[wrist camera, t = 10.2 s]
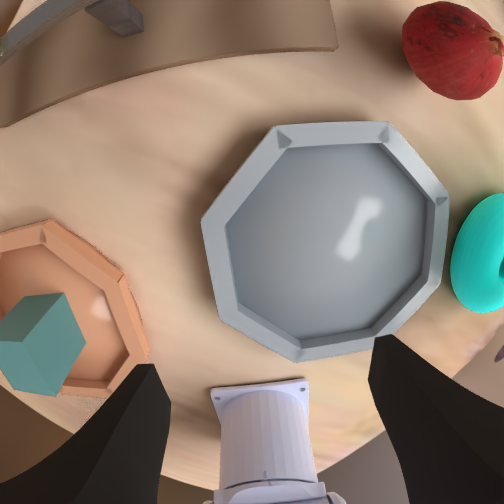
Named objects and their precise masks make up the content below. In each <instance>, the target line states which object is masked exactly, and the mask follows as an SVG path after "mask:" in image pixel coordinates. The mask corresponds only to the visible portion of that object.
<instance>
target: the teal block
mask: <svg viewBox="0 0 504 504" xmlns="http://www.w3.org/2000/svg"><path fill="white" fill-rule="evenodd" d="M86 343H87V342H86V340H85V338H84V336H83V334H82V332H81V330H80V328H79V325H78V323H77V321H76V319H75V316H74V314H73V312H72V310H71V307H70V305H69V302H68V300H67V298H66V295H65V293H53V294H43V295H32V296H24V297H23V298H22V299H21V300H20V301H19V302H18V303H17V304H16V305H15V306H14V307H13V308H12V309H11V310H10V311H9V312H8V313H7V314H6V315H5V316H4V317H3V319H2V320H1V321H0V369H1V371H2V372H3V374H4V375H5V377H6V378H7V380H8V381H9V383H10V384H11V386H12V387H13V389H14V390H19V391H24V392H29V393H35V394H41V395H48V396H55V397H56V395H57V393H58V392H59V390H60V388H61V386H62V384H63V382H64V381H65V379H66V377H67V375H68V373H69V372H70V370H71V368H72V366H73V365H74V363H75V361H76V360H77V358H78V356H79V354H80V353H81V351H82V349H83V348H84V346H85V344H86Z"/></svg>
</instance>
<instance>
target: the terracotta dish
mask: <svg viewBox="0 0 504 504" xmlns="http://www.w3.org/2000/svg"><path fill="white" fill-rule="evenodd" d="M53 293H65V295H66V298H67V300H68V302H69V305H70V307H71V310H72V312H73V314H74V316H75V319H76V321H77V323H78V325H79V328H80V330H81V332H82V334H83V336H84V338H85V340H86V342H87V343H86V344H85V346H84V348H83V349H82V351H81V353H80V354H79V356H78V358H77V360H76V361H75V363H74V365H73V366H72V368H71V370H70V372H69V373H68V375H67V377H66V379H65V381H64V382H63V384H62V386H61V388H60V390H59V393H61V394H67V395H76V396H86V397H97V398H109V397H110V396H111V394H112V393H113V392H114V391H115V390H116V388H117V387H118V386H119V385H120V384H121V382H122V381H123V380H124V379H125V378H126V376H127V375H128V374H129V373H130V372H131V370H132V369H133V368H134V367H135V366H136V365H137V364H144V363H145V362H146V361H147V358H148V356H149V353H150V346H149V343H148V341H147V338H146V336H145V333H144V330H143V325H142V319H141V316H140V312H139V309H138V307H137V304H136V302H135V299H134V297H133V295H132V293H131V291H130V290H129V287H128V284H127V280H126V277H125V274H123V272H122V271H120V270H119V269H117V268H116V267H115V266H113V265H112V264H111V263H110V262H109V261H108V260H107V259H106V258H105V257H104V256H103V255H102V254H101V253H100V252H99V251H98V250H97V249H95V248H94V247H93V246H92V245H91V244H89V243H88V242H86V241H85V240H83V239H82V238H80V237H79V236H77V235H75V234H73V233H71V232H69V231H67V230H65V229H64V228H62V227H61V226H60V225H59V224H57V223H56V222H55V221H54V220H51V219H50V220H46V221H42V222H38V223H34V224H30V225H27V226H23V227H19V228H16V229H12V230H8V231H5V232H1V233H0V321H1V320H2V319H3V317H4V316H5V315H6V314H7V313H8V312H9V311H10V310H11V309H12V308H13V307H14V306H15V305H16V304H17V303H18V302H19V301H20V300H21V299H22V298H23V297H24V296H32V295H43V294H53Z"/></svg>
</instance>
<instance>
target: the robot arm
mask: <svg viewBox="0 0 504 504" xmlns="http://www.w3.org/2000/svg"><path fill="white" fill-rule="evenodd" d="M368 382H369V386H370V389H371V393H372V396H373V399H374V402H375V405H376V408H377V410H378V412H379V415H380V417H381V419H382V422H383V424H384V426H385V428H386V431H387V433H388V435H389V437H390V440H391V442H392V445H393V447H394V449H395V452H396V454H397V457H398V460H399V462H400V465H401V469H402V472H403V476H404V480H405V484H406V489H407V493H408V498H409V503H410V504H504V408H503V407H501V406H498V405H496V404H494V403H492V402H490V401H487V400H486V399H484V398H482V397H480V396H478V395H476V394H474V393H473V392H471V391H469V390H468V389H466V388H464V387H462V386H461V385H460V384H458V383H456V382H455V381H454V380H452V379H450V378H449V377H448V376H446V375H445V374H443V373H442V372H440V371H439V370H438V369H436V368H435V367H434V366H432V365H431V364H430V363H428V362H427V361H426V360H424V359H423V358H422V357H420V356H419V355H418V354H417V353H415V352H414V351H413V350H412V349H410V348H409V347H408V346H407V345H405V344H404V343H403V342H401V341H400V340H399V339H398V338H396V337H395V336H394V335H392V334H388V335H384V336H379V337H375V339H374V346H373V353H372V359H371V365H370V370H369V376H368ZM302 387H304V388H302ZM210 396H211V399H212V402H213V405H214V408H215V410H216V413H217V416H218V419H219V422H220V425H221V427H222V428H221V453H220V481H219V490H214V501H205V502H204V503H203V504H347V503H346V502H345V500H344V499H343V498H341V497H340V496H338V494H336V493H335V492H329V493H326V489H325V485H324V482H319V483H318V479H317V474H316V469H315V463H314V458H313V453H312V448H311V443H310V438H309V433H308V381H307V379H304V378H303V379H295V380H288V381H281V382H273V383H264V384H255V385H245V386H234V387H221V388H213V389H211V390H210ZM170 413H171V401H170V399H169V397H168V395H167V393H166V391H165V389H164V386H163V384H162V382H161V380H160V378H159V375H158V373H157V371H156V368H155V366H154V364H137V365H136V366H135V367H134V368H133V369H132V370H131V372H130V373H129V374H128V375H127V376H126V378H125V379H124V380H123V381H122V382H121V384H120V385H119V386H118V387H117V388H116V390H115V391H114V392H113V393H112V394H111V396H110V397H109V398H108V399H107V400H106V401H105V403H104V404H103V405H102V406H101V407H100V408H99V409H98V411H97V412H96V413H95V414H94V415H93V416H92V417H91V418H90V419H89V420H88V421H87V422H86V423H85V424H84V425H83V426H82V428H81V429H80V430H78V431H77V432H76V433H75V434H74V435H73V436H72V437H71V438H70V439H69V440H68V441H66V443H64V444H63V445H62V446H61V447H60V448H58V449H57V450H56V451H54V452H53V453H52V454H50V455H49V456H48V457H46V458H45V459H43V460H42V461H41V462H39V463H38V464H37V465H35V466H33V467H32V468H30V469H28V470H27V471H25V472H23V473H21V474H20V475H18V476H16V477H14V478H12V479H10V480H8V481H5V482H3V483H0V504H157V492H158V484H159V478H160V473H161V468H162V463H163V458H164V453H165V448H166V443H167V438H168V433H169V426H170Z"/></svg>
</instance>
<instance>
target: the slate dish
mask: <svg viewBox="0 0 504 504" xmlns="http://www.w3.org/2000/svg"><path fill="white" fill-rule="evenodd" d="M449 207H450V196H449V193H448V192H447V191H446V189H445V188H444V186H443V185H442V184H441V182H440V181H439V180H438V179H437V177H436V176H435V175H434V173H433V172H432V171H431V170H430V168H429V167H428V166H427V165H426V163H425V162H424V161H423V160H422V158H421V157H420V156H419V155H418V154H417V152H416V151H415V150H414V149H413V148H412V147H411V145H410V144H409V143H408V142H407V141H406V140H405V139H404V137H403V136H402V135H401V134H400V133H399V132H398V131H397V130H396V129H395V128H394V127H393V125H392V124H391V123H390V122H388V121H351V122H322V123H304V124H290V125H278V126H274V127H272V128H271V129H270V130H269V131H268V132H267V134H266V135H265V136H264V137H263V138H262V140H261V141H260V142H259V143H258V145H257V146H256V147H255V148H254V150H253V151H252V152H251V153H250V154H249V156H248V157H247V158H246V160H245V161H244V162H243V163H242V165H241V166H240V167H239V168H238V170H237V171H236V172H235V173H234V175H233V176H232V177H231V179H230V180H229V181H228V182H227V184H226V185H225V186H224V188H223V189H222V190H221V192H220V193H219V194H218V195H217V197H216V198H215V199H214V201H213V202H212V203H211V205H210V206H209V207H208V209H207V210H206V211H205V213H204V214H203V216H202V218H201V221H200V223H201V228H202V234H203V239H204V245H205V250H206V255H207V260H208V265H209V271H210V276H211V281H212V286H213V290H214V295H215V300H216V305H217V310H218V314H219V319H220V320H221V321H223V322H225V323H226V324H228V325H230V326H231V327H233V328H235V329H236V330H238V331H240V332H241V333H243V334H245V335H246V336H248V337H250V338H252V339H253V340H255V341H257V342H258V343H260V344H262V345H264V346H265V347H267V348H269V349H271V350H272V351H274V352H276V353H278V354H280V355H281V356H283V357H285V358H287V359H289V360H290V361H292V362H294V363H295V362H296V363H298V362H305V361H311V360H317V359H323V358H329V357H334V356H340V355H345V354H350V353H355V352H360V351H365V350H370V349H373V346H374V339H375V337H379V336H384V335H388V334H392V335H393V334H394V333H395V332H396V331H397V330H398V329H399V328H400V327H401V326H402V325H403V324H404V323H405V322H406V321H407V320H408V319H409V318H410V317H411V316H412V315H413V314H414V313H415V312H416V311H417V310H418V309H419V307H420V306H421V305H422V304H423V303H424V302H425V301H426V300H427V299H428V298H429V297H430V296H431V294H432V293H433V292H434V291H435V290H436V289H437V288H438V287H439V285H440V283H441V277H442V271H443V265H444V257H445V250H446V241H447V232H448V221H449Z"/></svg>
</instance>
